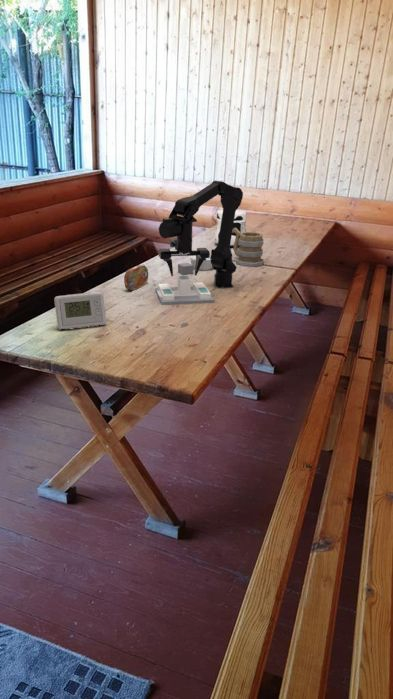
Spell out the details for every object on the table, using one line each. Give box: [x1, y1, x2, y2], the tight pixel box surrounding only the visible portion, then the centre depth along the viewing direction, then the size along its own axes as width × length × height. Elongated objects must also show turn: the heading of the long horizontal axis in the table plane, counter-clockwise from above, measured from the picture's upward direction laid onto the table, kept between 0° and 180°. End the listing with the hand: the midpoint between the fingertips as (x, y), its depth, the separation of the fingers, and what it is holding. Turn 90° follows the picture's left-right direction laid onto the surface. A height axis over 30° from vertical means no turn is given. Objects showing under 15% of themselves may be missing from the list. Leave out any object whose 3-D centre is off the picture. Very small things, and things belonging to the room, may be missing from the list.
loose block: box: [177, 262, 194, 276], centre depth 243 cm, size 5×5×4 cm
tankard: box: [232, 228, 264, 268], centre depth 262 cm, size 20×13×15 cm, turn 34°
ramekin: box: [189, 254, 213, 271], centre depth 251 cm, size 11×11×5 cm
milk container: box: [213, 208, 247, 248], centre depth 293 cm, size 17×17×18 cm
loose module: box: [176, 275, 192, 295], centre depth 212 cm, size 4×6×6 cm, turn 12°
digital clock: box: [53, 291, 107, 331], centre depth 180 cm, size 16×9×11 cm, turn 100°
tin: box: [123, 264, 149, 291], centre depth 221 cm, size 15×3×8 cm, turn 154°
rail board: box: [154, 281, 215, 306], centre depth 213 cm, size 20×18×3 cm
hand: (183, 275), depth 210 cm, fingers open, 9 cm apart
